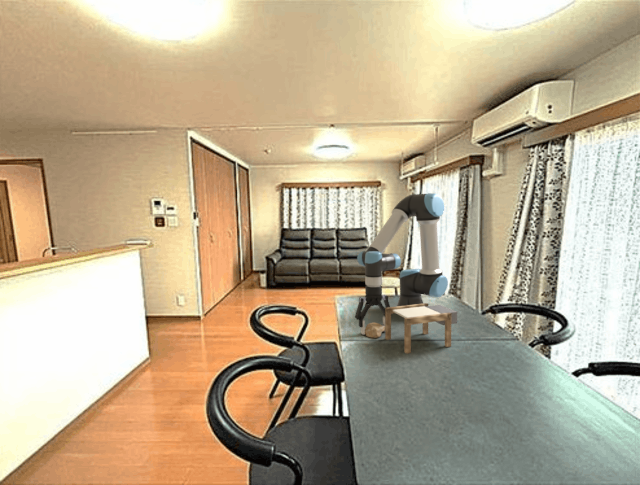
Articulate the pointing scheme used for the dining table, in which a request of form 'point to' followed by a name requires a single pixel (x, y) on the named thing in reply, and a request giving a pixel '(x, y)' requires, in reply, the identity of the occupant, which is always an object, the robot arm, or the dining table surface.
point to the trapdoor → (427, 312)
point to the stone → (374, 330)
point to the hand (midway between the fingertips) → (373, 332)
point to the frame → (417, 320)
